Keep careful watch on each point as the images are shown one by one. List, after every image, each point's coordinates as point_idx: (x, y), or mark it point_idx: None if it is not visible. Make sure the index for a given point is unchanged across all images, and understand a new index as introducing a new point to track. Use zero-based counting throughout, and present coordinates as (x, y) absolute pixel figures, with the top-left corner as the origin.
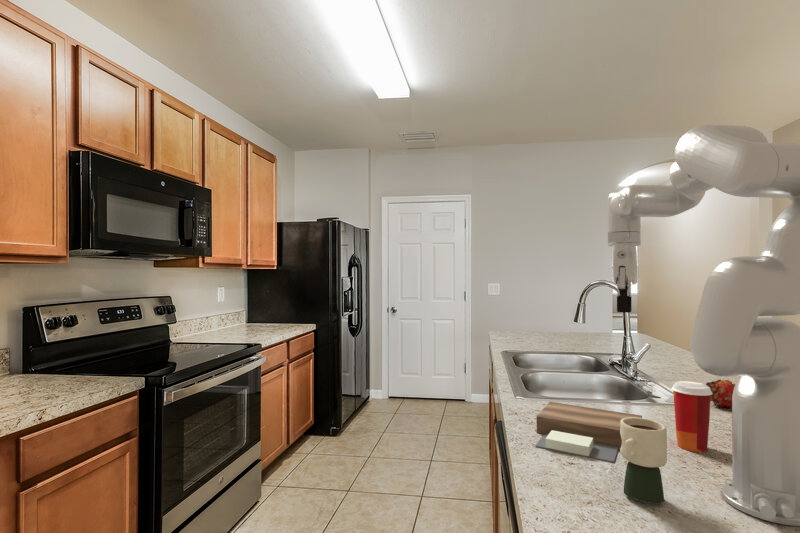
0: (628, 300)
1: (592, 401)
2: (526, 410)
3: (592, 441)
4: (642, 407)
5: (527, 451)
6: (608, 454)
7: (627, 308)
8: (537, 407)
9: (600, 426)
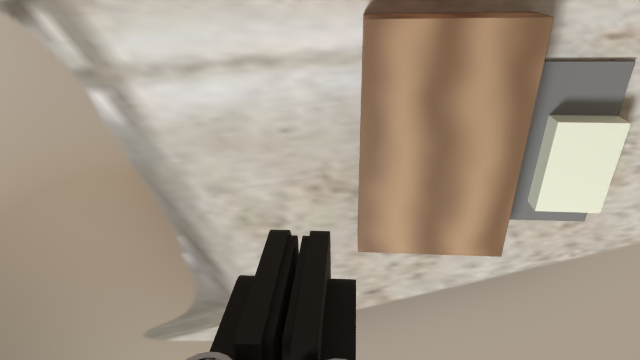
0: (322, 328)
1: (157, 162)
2: (338, 278)
3: (569, 120)
4: (116, 29)
5: (614, 226)
6: (590, 77)
7: (328, 273)
8: None
9: (527, 116)
